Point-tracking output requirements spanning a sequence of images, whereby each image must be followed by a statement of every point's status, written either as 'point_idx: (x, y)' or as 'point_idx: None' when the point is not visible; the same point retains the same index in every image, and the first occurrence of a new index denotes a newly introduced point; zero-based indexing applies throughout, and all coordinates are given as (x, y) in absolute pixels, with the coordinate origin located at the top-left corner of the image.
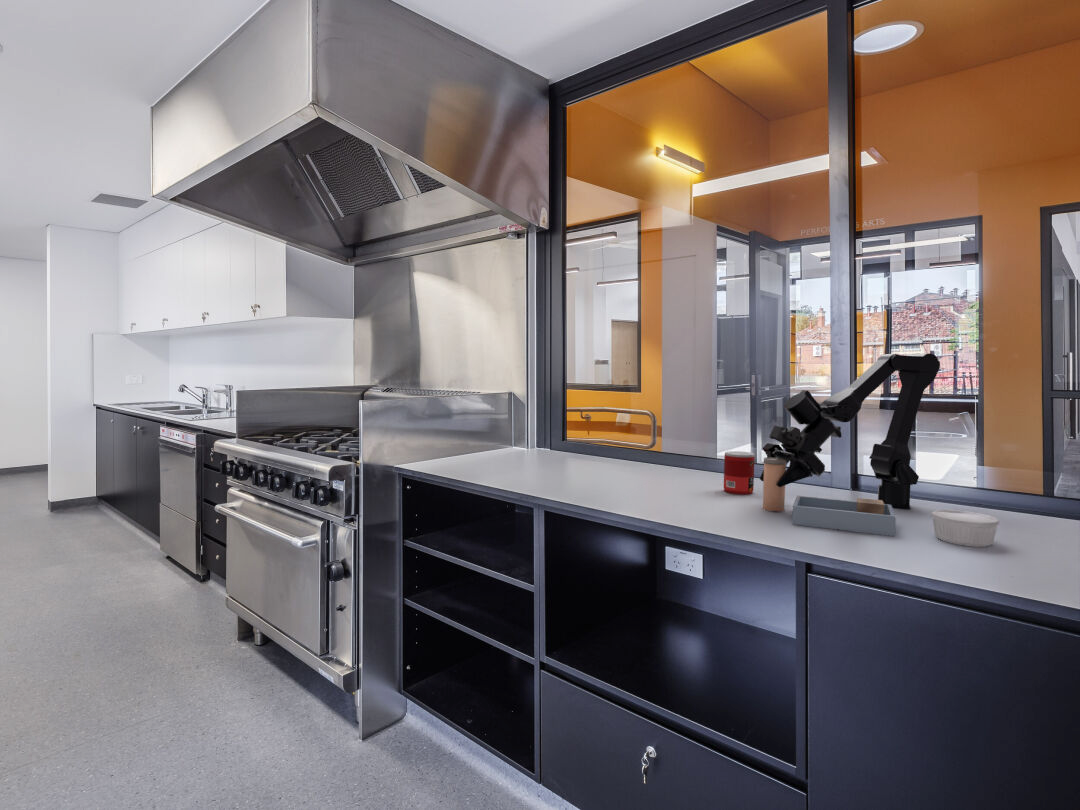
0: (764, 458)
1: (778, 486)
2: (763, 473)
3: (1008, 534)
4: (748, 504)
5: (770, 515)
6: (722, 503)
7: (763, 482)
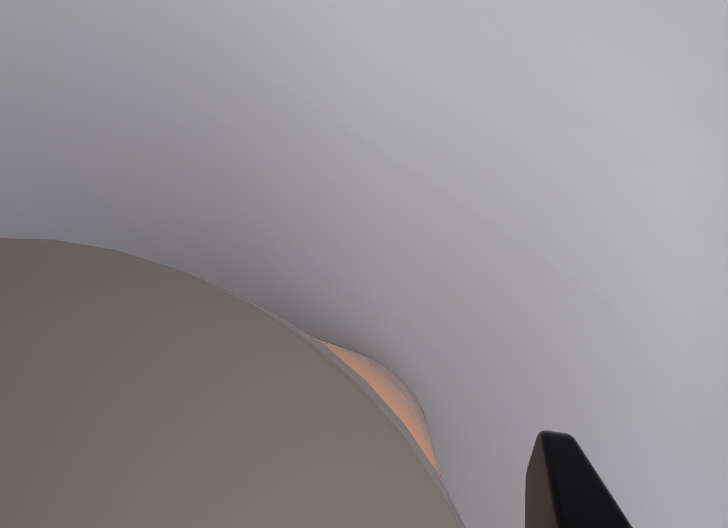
0: (254, 344)
1: None
2: (567, 521)
3: None
4: (590, 345)
5: None
6: (685, 111)
7: (370, 365)
